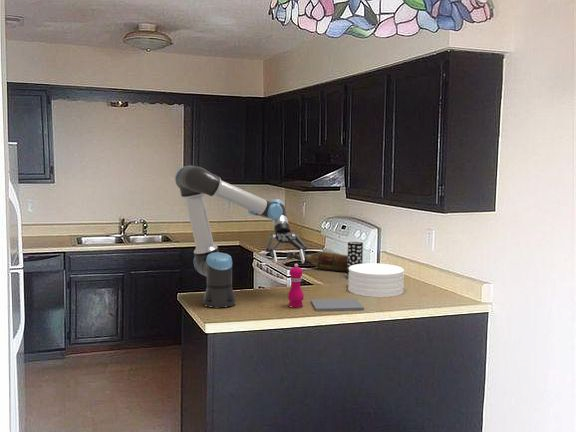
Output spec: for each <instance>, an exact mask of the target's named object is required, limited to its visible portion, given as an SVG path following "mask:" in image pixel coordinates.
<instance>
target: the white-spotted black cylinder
mask: <svg viewBox="0 0 576 432" xmlns="http://www.w3.org/2000/svg"><path fill="white" fill-rule="evenodd" d="M363 250H364V242H362V241H348V242H347V255H348V262H347V272H346V274H347V275H346V277H347V279H348V280H349V267H350V266H352V265H356V264H363V263H364V262H363V257H364V255H363V254H364V253H363V252H364V251H363Z"/></svg>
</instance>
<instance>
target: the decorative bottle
mask: <svg viewBox="0 0 576 432" xmlns="http://www.w3.org/2000/svg"><path fill="white" fill-rule="evenodd" d="M285 256H286V259H287V260H292V259H294V260H297V261H301V257H300V253H299V254H294V253H293V252H291V251H290V252H286V254H285ZM304 259H305V261H304V262H307V263H309V264H311V265H313V266H315V268H318V269H320V270H324V271H335V272H343V273H344V272H345V273H347V262H348V254H341V253H335V252H331V251H329V252H328V251H319V252H316V253H312V254H311V253H310V254H305V256H304Z"/></svg>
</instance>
